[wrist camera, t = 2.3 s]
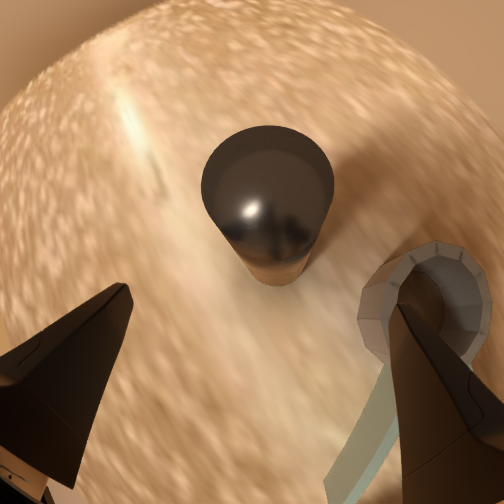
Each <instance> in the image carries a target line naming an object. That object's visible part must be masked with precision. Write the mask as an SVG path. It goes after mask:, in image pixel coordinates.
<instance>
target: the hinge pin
mask: <svg viewBox="0 0 504 504" xmlns="http://www.w3.org/2000/svg"><path fill="white" fill-rule="evenodd" d="M201 194H202V199H203V203H204V206H205V208H206V210H207V212H208V214H209V216H210V217H211V219H212V220H213V222H214V223H215V224H216V226H217V227H218V228H219V230H220V231H221V232H222V234H223V235H224V237H225V238H226V239H227V241H228V242H229V243H230V245H231V246H232V247H233V249H234V250H235V251H236V253H237V254H238V255H239V257H240V258H241V259H242V261H243V262H244V264H245V265H246V266H247V268H248V269H249V270H250V272H251V273H252V274H253V276H254V277H255V278H256V279H258V280H259V281H260V282H262V283H264V284H266V285H270V286H283V285H286V284H289V283H291V282H292V281H294V280H295V279H296V278H297V277H298V276H299V275H300V274H301V272H302V271H303V269H304V267H305V264H306V262H307V260H308V257H309V255H310V253H311V250H312V248H313V246H314V243H315V241H316V239H317V236H318V234H319V232H320V229H321V227H322V224H323V222H324V220H325V217H326V215H327V212H328V210H329V207H330V205H331V202H332V199H333V194H334V176H333V171H332V168H331V165H330V162H329V160H328V159H327V157H326V155H325V154H324V152H323V151H322V149H321V148H320V147H319V146H318V145H317V144H316V143H315V142H314V141H312V140H311V139H310V138H308V137H307V136H305V135H304V134H302V133H300V132H298V131H295V130H292V129H289V128H286V127H281V126H257V127H252V128H248V129H245V130H242V131H240V132H238V133H236V134H234V135H232V136H230V137H229V138H227V139H226V140H225V141H224V142H222V143H221V144H220V145H219V146H218V147H217V148H216V149H215V150H214V152H213V153H212V154H211V156H210V158H209V159H208V161H207V163H206V165H205V168H204V171H203V175H202V181H201Z"/></svg>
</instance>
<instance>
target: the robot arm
mask: <svg viewBox="0 0 504 504" xmlns="http://www.w3.org/2000/svg"><path fill="white" fill-rule="evenodd" d="M132 309H133V299H132V296H131V293H130V290H129V287H128V285H127V284H126V283H119V282H117V283H114V284H113V285H111V286H110V287H108V288H106V289H105V290H103V291H102V292H100V293H99V294H97V295H95V296H94V297H92V298H91V299H89V300H88V301H86V302H85V303H83V304H81V305H80V306H78V307H77V308H75V309H74V310H72V311H71V312H69V313H68V314H66V315H65V316H63V317H62V318H60V319H58V320H57V321H55V322H54V323H52V324H51V325H49V326H48V327H46V328H45V329H44V330H43V331H40V332H39V333H38V334H36V335H35V336H33V337H32V338H30V339H29V340H27V341H26V342H24V343H22V344H21V345H19V346H17V347H16V348H14V349H12V350H11V351H9V352H7V353H6V354H4V355H2V356H0V504H55V503H54V501H53V498H52V496H51V493H50V491H49V488H48V487H47V486H46V484H47V482H48V479H49V477H50V478H52V479H53V480H55V481H57V482H59V483H61V484H62V485H64V486H66V487H68V488H70V489H72V490H73V488H74V485H75V482H76V478H77V474H78V471H79V467H80V464H81V460H82V457H83V454H84V450H85V447H86V444H87V440H88V437H89V434H90V431H91V428H92V425H93V422H94V419H95V416H96V413H97V410H98V407H99V404H100V401H101V398H102V396H103V393H104V390H105V387H106V385H107V382H108V379H109V376H110V374H111V371H112V369H113V366H114V363H115V361H116V358H117V356H118V353H119V351H120V348H121V346H122V343H123V340H124V336H125V333H126V329H127V326H128V323H129V319H130V316H131V313H132ZM388 332H389V346H390V363H391V373H392V379H393V386H394V393H395V400H396V408H397V417H398V426H399V437H400V449H401V464H402V494H403V504H504V404H503V403H502V402H501V401H500V400H499V399H498V398H497V397H496V396H495V395H494V394H493V393H492V392H491V391H490V390H489V389H488V388H487V387H486V385H485V384H484V383H483V382H482V381H481V380H480V379H479V378H478V377H477V376H476V374H475V373H474V372H473V371H472V370H471V371H470V368H469V367H468V366H467V364H466V363H465V362H464V361H463V360H462V359H461V358H460V357H459V356H458V355H457V353H456V352H455V351H454V350H453V349H452V348H451V347H450V346H449V345H448V344H447V343H446V342H445V341H444V339H443V338H442V337H441V336H440V335H439V334H438V333H437V332H436V331H435V330H434V329H433V328H432V327H431V326H430V325H429V324H428V323H427V322H426V321H425V320H424V319H423V318H422V317H421V316H420V315H419V314H418V313H417V312H416V311H415V310H414V309H413V308H412V307H411V306H410V305H409V304H408V303H396V304H395V306H394V309H393V311H392V314H391V316H390V319H389V322H388Z"/></svg>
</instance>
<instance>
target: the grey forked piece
mask: <svg viewBox="0 0 504 504" xmlns="http://www.w3.org/2000/svg"><path fill="white" fill-rule="evenodd" d="M411 270H414V271H418V272H423V273H425V274H426V275H427V276H428V277H429V278H430V279H431V280H432V281H433V282H434V283H435V284H436V285H437V286H438V287H439V289H440V293H441V296H442V299H443V303H444V306H445V311H444V317H443V323H442V329H441V331H440V332H439V335H440V336H441V337H442V338H443V339H444V341H445V342H446V343H447V344H448V345H449V346H450V347H451V348H452V349H453V350H454V351H455V352H456V353H457V355H458V356H459V357H460V358H461V359H462V360H463V361H464V362H465V363H466V364H467V366H468V367H469V368H470V371H471V370H472V371H473V368H472V365H471V362H472V361H473V359H474V358H475V356H476V354H477V353H478V351H479V350H480V348H481V346H482V345H483V343H484V341H485V340H486V338H487V336H488V331H489V325H490V318H491V310H492V298H491V295H490V291H489V287H488V284H487V280H486V277H485V273H484V271H483V269H482V268H481V267H480V266H479V264H478V263H477V262H476V261H475V260H474V259H473V258H472V257H471V256H470V254H469V253H468V252H467V251H466V250H465V249H464V248H462V247H459V246H455V245H451V244H448V243H444V242H440V241H436V240H435V241H433V242H431V243H428V244H426V245H423V246H420V247H418V248H415V249H413V250H410V251H408V252H406V253H404V254H402V255H400V256H399V257H397V258H395V259H393V260H391V261H390V262H388V263H386V264H384V265H382V266H380V267H379V269H378V270H377V271H376V273H375V274H374V275H373V276H372V278H371V279H370V280H369V282H368V283H367V284H366V285H365V287H364V288H363V290H362V295H361V301H360V306H359V311H358V316H357V318H358V319H357V320H358V324H359V327H360V330H361V333H362V337H363V340H364V344H365V346H366V348H367V349H369V350H370V351H371V352H372V353H373V354H374V355H375V356H376V357H377V358H379V359H380V360H381V361H382V362H383V363H384V367H383V369H382V372H381V374H380V376H379V378H378V381H377V383H376V385H375V387H374V390H373V392H372V394H371V396H370V398H369V400H368V402H367V404H366V406H365V409H364V411H363V413H362V415H361V417H360V419H359V420H358V422H357V424H356V426H355V428H354V430H353V432H352V434H351V436H350V437H349V439H348V441H347V443H346V445H345V446H344V448H343V450H342V452H341V453H340V455H339V457H338V458H337V460H336V462H335V463H334V465H333V467H332V468H331V470H330V472H329V473H328V475H327V476H326V478H325V480H324V481H323V482H324V486H325V490H326V495H327V499H328V503H329V504H356V503H357V501H358V500H359V499H360V497H361V496H362V494H363V493H364V491H365V490H366V488H367V487H368V485H369V484H370V482H371V481H372V479H373V478H374V476H375V475H376V473H377V472H378V470H379V468H380V467H381V465H382V463H383V462H384V460H385V458H386V457H387V455H388V453H389V452H390V450H391V448H392V446H393V445H394V443H395V441H396V439H397V437H398V435H399V426H398V417H397V408H396V400H395V393H394V386H393V379H392V373H391V363H390V346H389V332H388V322H389V319H390V316H391V314H392V311H393V309H394V306H395V304H396V303H397V299H398V293H399V287H400V286H401V284H402V283H403V281H404V280H405V279H406V277H407V276H408V275H409V273H410V272H411ZM473 372H474V371H473Z"/></svg>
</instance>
